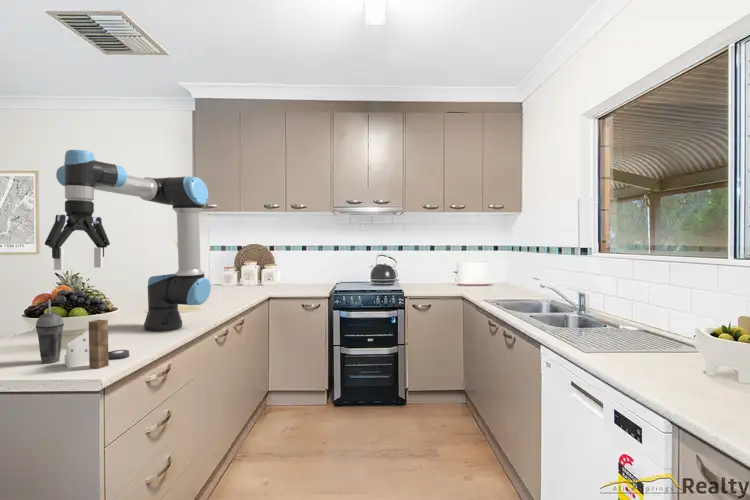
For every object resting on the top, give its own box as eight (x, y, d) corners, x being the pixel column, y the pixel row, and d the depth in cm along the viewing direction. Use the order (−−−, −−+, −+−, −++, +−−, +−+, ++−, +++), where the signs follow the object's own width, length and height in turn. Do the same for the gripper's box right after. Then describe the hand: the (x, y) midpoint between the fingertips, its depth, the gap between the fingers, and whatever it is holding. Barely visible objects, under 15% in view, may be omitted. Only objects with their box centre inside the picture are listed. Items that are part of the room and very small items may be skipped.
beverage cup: (64, 357, 143) (63, 296, 143) (64, 362, 137) (63, 299, 137) (36, 360, 139) (35, 298, 139) (35, 366, 133) (33, 301, 133)
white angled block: (105, 352, 140) (89, 331, 137) (74, 374, 134) (56, 352, 130) (101, 350, 143) (85, 329, 139) (70, 372, 136) (53, 350, 133)
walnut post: (99, 364, 136) (98, 319, 135) (108, 365, 135) (107, 320, 134) (89, 367, 132) (88, 321, 132) (98, 368, 131) (98, 322, 131)
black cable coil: (118, 353, 148) (117, 348, 148) (133, 355, 146) (133, 350, 146) (101, 358, 142) (101, 353, 142) (117, 360, 140) (117, 355, 140)
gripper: (103, 204, 149) (103, 266, 150) (29, 196, 125) (29, 270, 126) (121, 204, 148) (121, 266, 148) (50, 196, 123) (50, 271, 124)
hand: (79, 268), depth 137 cm, fingers open, 13 cm apart
